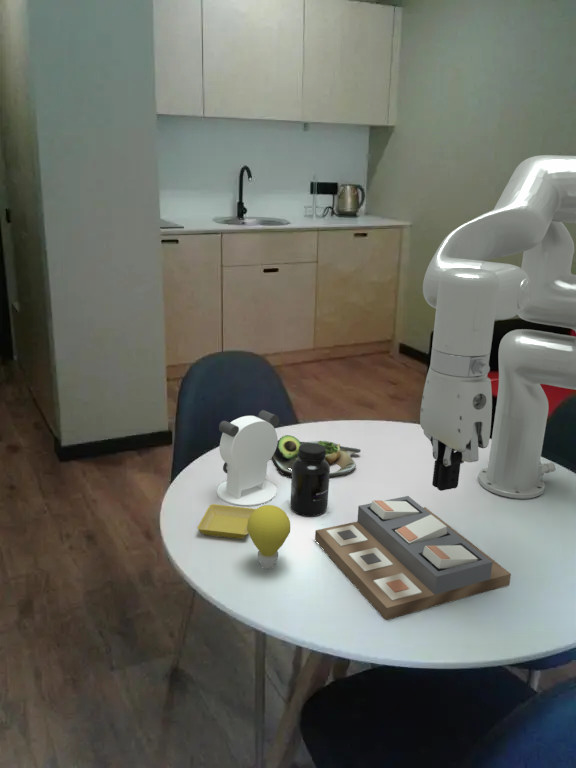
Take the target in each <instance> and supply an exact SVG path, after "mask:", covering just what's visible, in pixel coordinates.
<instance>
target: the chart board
mask: <svg viewBox="0 0 576 768" xmlns="http://www.w3.org/2000/svg"><path fill="white" fill-rule="evenodd" d="M423 508H424V509H425V510H427V511H428V512H429V513H431V514H432V515H433V516H434V517H436V518H437V519H438V520H439V521H441V522H442V523H443V524H445V525H446V526H447V527H448V528H450V529H451V530H452V531H454V532H455V533H456V534H457V535H459V536H460V537H461V538H463V539H464V540H465V541H466V542H468V543H469V544H470V545H471V546H473V547H474V548H475V549H477V550H478V551H479V552H480V553H482V554H483V555H484V556H486V557H487V558H488V559H489V560H491V561H492V569H491V576H490V580H486V581H483V582H479V583H475V584H472V585H468V586H464V587H461V588H457V589H454V590H450V591H446V592H443V593H439V594H436V595H434V594H433V593H432V592H431V591H430V590H429V589H428V588H427V587H426V586H425V585H424V584H423V583H422V582H421V581H420V580H419V579H417V578H416V577H415V576H414V575H413V574H412V573H411V572H410V571H409V570H408V569H407V568H406V567H405V566H404V565H403V564H402V563H401V562H400V561H399V560H397V559H396V558H395V557H394V556H393V555H392V554H391V553H390V552H389V551H388V550H387V549H386V548H385V547H384V546H383V545H382V544H381V543H380V542H378V541H377V540H376V539H375V538H374V537H373V536H372V535H371V534H370V533H369V532H368V531H367V530H366V529H365V528H364V527H363V526H362V525H361V524H360V523H358V522H357V521H353V522H349V523H344V524H338V525H335V526H328V527H325V528H320V529H319V528H318V529H316V530H315V534H314V535H315V536H314V541H315V540H316V541H315V543H316V542H318V543H319V545H320V546H321V547H322V548H323V549H324V550H323V549H322V548H321V547H320V546H319V545H318V546H319V547H320V548H321V549H322V550H323V552H324V551H325V552H326V553H327V554H328V555H329V556H330V557H329V556H328V555H327V554H326V553H325V552H324V553H325V554H326V555H327V556H328V557H329V559H331V561H332V562H333V561H334V562H335V563H336V564H335V563H334V562H333V563H334V564H335V565H336V566H337V567H338V568H339V570H340V571H341V572H342V571H343V572H342V573H343V574H344V575H345V576H346V578H348V580H349V581H350V582H351V583H352V584H353V585H354V586H355V588H357V590H358V591H359V592H360V594H362V595H363V597H364V598H365V600H367V601H368V602H369V603H370V604H371V605H372V606H373V608H374V609H375V610H376V611H377V613H379V614H380V615H381V617H382V618H383V619H384V620H385V621H387V620H391V619H394V618H398V617H401V616H405V615H408V614H411V613H415V612H419V611H423V610H427V609H430V608H433V607H436V606H440V605H444V604H447V603H451V602H454V601H457V600H461V599H465V598H469V597H471V596H475V595H479V594H483V593H486V592H489V591H493V590H497V589H500V588H503V587H507V586H510V582H511V581H510V580H511V576H512V573H511V572H509V571H508V570H507V569H506V568H504V567H503V566H502V565H501V564H499V563H498V562H496V561H495V560H494V559H493V558H491V556H489V555H487V554H486V553H485V551H482V550H481V549H480V548H478V546H476V545H475V544H473V542H471V541H470V540H468V539H467V538H465V536H464V535H462V534H461V533H459V532H458V531H457V530H456V529H454V528H453V527H452V526H450V525H449V524H448V523H447V522H445V521H444V520H443V519H441V518H440V517H438V516H437V515H436V514H435V513H433V512H432V511H431V510H429V508H427V507H426V506H424V507H423Z"/></svg>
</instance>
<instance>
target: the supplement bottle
mask: <svg viewBox="0 0 576 768" xmlns="http://www.w3.org/2000/svg"><path fill="white" fill-rule="evenodd" d="M325 451H326V449H325V447H324V446H323V445H320V444H317V443H305V444H302V445H300V446H299V453H298V459H296V460H295V461H294V463H293V465H292V478H291V484H290V505H289V506H290V509H291V510H292V511H293V512H295V513H296V514H298V515H301V516H304V515H305V517H316V515H317V516H319V515H322V514H324V513H325V512H326V511H327V509H328V503H329V488H330V487H329V486H330V477H329V476H330V473H331V465H329V464H328V462H327V461H326V460H325V457H326V455H325Z"/></svg>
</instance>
